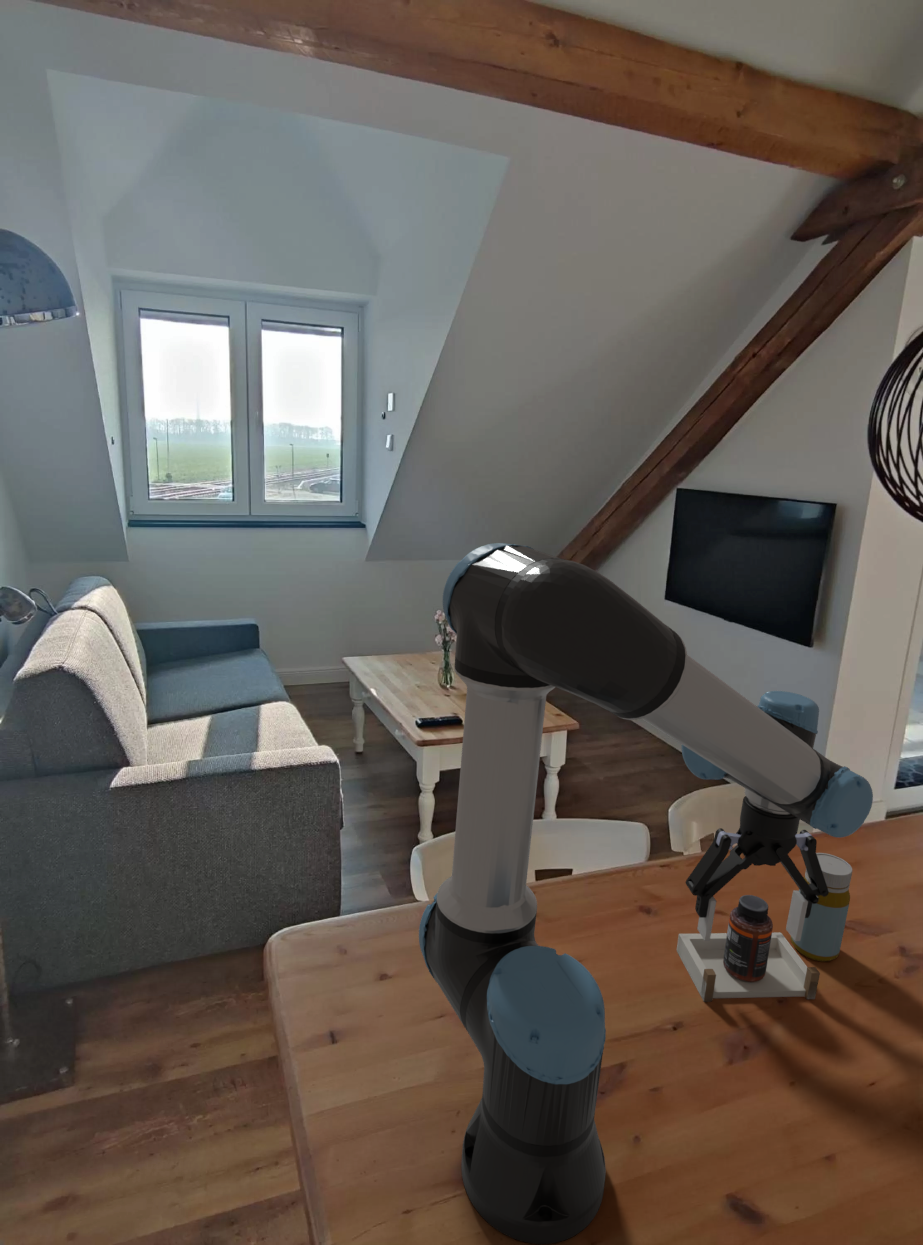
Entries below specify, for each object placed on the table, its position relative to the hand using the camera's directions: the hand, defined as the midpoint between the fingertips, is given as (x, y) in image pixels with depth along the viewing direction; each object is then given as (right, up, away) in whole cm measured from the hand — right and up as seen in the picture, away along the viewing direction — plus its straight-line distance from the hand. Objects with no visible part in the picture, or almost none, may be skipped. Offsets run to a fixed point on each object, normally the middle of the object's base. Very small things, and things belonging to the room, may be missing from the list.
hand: (748, 935), depth 107 cm
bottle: (+14, -6, +9) cm, 17 cm away
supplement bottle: (0, -6, +2) cm, 6 cm away
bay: (0, -7, +2) cm, 7 cm away
